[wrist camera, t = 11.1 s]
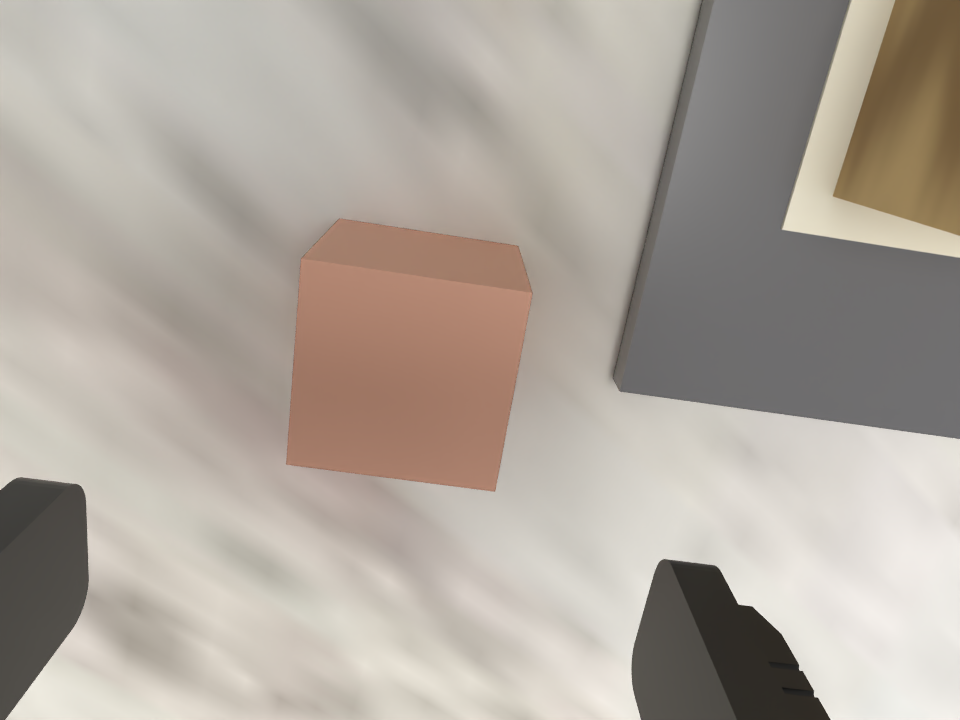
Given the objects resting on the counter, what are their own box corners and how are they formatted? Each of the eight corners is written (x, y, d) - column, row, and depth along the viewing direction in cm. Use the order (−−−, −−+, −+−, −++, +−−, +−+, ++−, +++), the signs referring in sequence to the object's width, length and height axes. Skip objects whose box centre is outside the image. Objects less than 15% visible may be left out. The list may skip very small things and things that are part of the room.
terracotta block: (339, 218, 20) (301, 258, 15) (518, 245, 21) (532, 292, 16) (324, 383, 22) (286, 464, 17) (489, 405, 22) (494, 491, 18)
